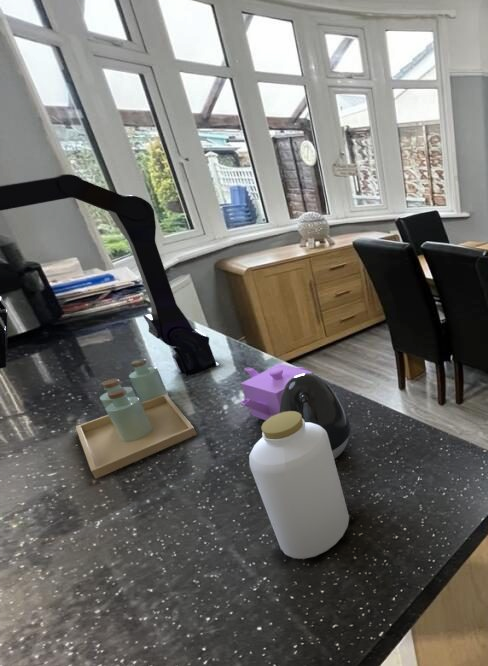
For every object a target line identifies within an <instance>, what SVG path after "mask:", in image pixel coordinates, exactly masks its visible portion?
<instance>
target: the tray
mask: <svg viewBox="0 0 488 666" xmlns="http://www.w3.org/2000/svg"><path fill="white" fill-rule="evenodd" d="M141 404H142V406H143V408H144V410H145V412H146V414H147V416H148V418H149V420H150V422H151V424H152V427H153V430H152V431H151V432H150V433H149V434H148V435H146V436H144V437H142V438H140V439H137V440H134V441H129V442H124V441H122V440H121V439H120V437H119V435H118V433H117V431H116V429H115V427H114V425H113V423H112V422H111V420H110V418H109V416H108V414H107V415H104V416H100V417H98V418H96V419H93V420H90V421H87V422H84V423H81V424H79V425H76V426H75V429H76V432H77V435H78V438H79V441H80V444H81V446H82V449H83V452H84V455H85V457H86V462H87V463H88V466H89V468H90V471H91V473H92V475H93V477H94V478H95V479H99V478H101V477H103V476H106V475H109V474H110V473H112V472H114V471H117V470H119V469H122V468H124V467H127V466H128V465H131V464H133V463H135V462H138V461H139V460H142V459H145V458H147V457H149V456H152V455H153V454H156V453H158V452H160V451H163V450H165V449H167V448H169V447H172V446H174V445H176V444H179V443H181V442H183V441H186V440H188V439H190V438H193V437H195V436H197V435H198V433H197V432H196V429H195V427H194V426H193V425H192V423H191V422H190V421H189V420H188V418H187V417H186V416H185V414H183V412H182V411H181V410H180V409H179V407H178V406H177V405H176V403H175V402H174V401H173V400H172V398H170V397H169V394H168V395H167V394H165V395H162V396H159V397H156V398H153V399H151V400H148V401H145V402H142V403H141Z"/></svg>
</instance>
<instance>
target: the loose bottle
mask: <svg viewBox="0 0 488 666" xmlns="http://www.w3.org/2000/svg"><path fill="white" fill-rule="evenodd" d="M130 365H131V367H132V368H133V370H134V371H133V372H131V373H130V374H129V375H128V378H129V380H130V383H131V385H132V386H133V388H134V389H133V390H135V391H134V392H135V393H136V396H137V397H138V398H139V399H140V402H141V403H142V402H145V401H148V400H151V399H153V398H156V397H159V396H162V395H165V394H167V395H168V396H169V392H168V389H167V387H166V385H165V384H164V381H163V379H162V376H161V374H160V372H159V370H158V367H156V366H148V364H147V360H146V358H140V359H135V360H133V361H131V362H130Z"/></svg>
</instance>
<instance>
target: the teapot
mask: <svg viewBox="0 0 488 666" xmlns="http://www.w3.org/2000/svg"><path fill="white" fill-rule="evenodd" d="M243 370H244V371H246V373H247V374H248V375H249V376H250V378H248V379H247V380H245V381H243V382H241V383H240V386H241V388H242V391H243V394H244V397H245V398H244V399H243V400H242V401H241V402H240V405H242V406H244V407H246V408H249V411H250V414H251V416H252V417H254V418H257V419H260V420H264V421H266V420H267V419H269V418H270V417H272V416H274V415H276V414H279V410H280V401H281V396H282V393H283V390H284V388H285V386H286V384H287V382H288V381H289V380H290V379H291V378H293V377H294V376H296V375H299V374H303V373H310V374H314V375H315V373H314V372H313V371H310V370H307V368H305V367H302V366H297V367H295V366H291V365H286V364H284V363H283V364H282V363H278V364H275V365H274V366H272V367H269V368H268V369H266V370H264V371H262V372H260V373H259V372H258V371H257V370H255V368H253V367H249V366H247V367H244V368H243Z"/></svg>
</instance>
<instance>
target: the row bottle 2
mask: <svg viewBox="0 0 488 666" xmlns="http://www.w3.org/2000/svg"><path fill="white" fill-rule="evenodd" d="M126 393H127V392H126V390H125V389H124V388H119V389H115V390H113V391H111V392H109V393H108V396H109V398H110V399H111V400H112V402H113V403H111V404H110V405H108V406H107V407H106V409H105V408H104V410H105V412H106V414H107V415H108V416H109V418H110V420H111V422H112V423H113V425H114V427H115V429H116V431H117V433H118V435H119V437H120V439H121V440H122V441H124V442H129V441H134V440H137V439H140V438H142V437H144V436H146V435H148V434H149V433H150V432H151V431H152V430H153V427H152V424H151V422H150V420H149V418H148V416H147V414H146V412H145V410H144V408H143V406H142V404H141V401H140V399H139V397H138V396H136V397H128V396H127V394H126Z"/></svg>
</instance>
